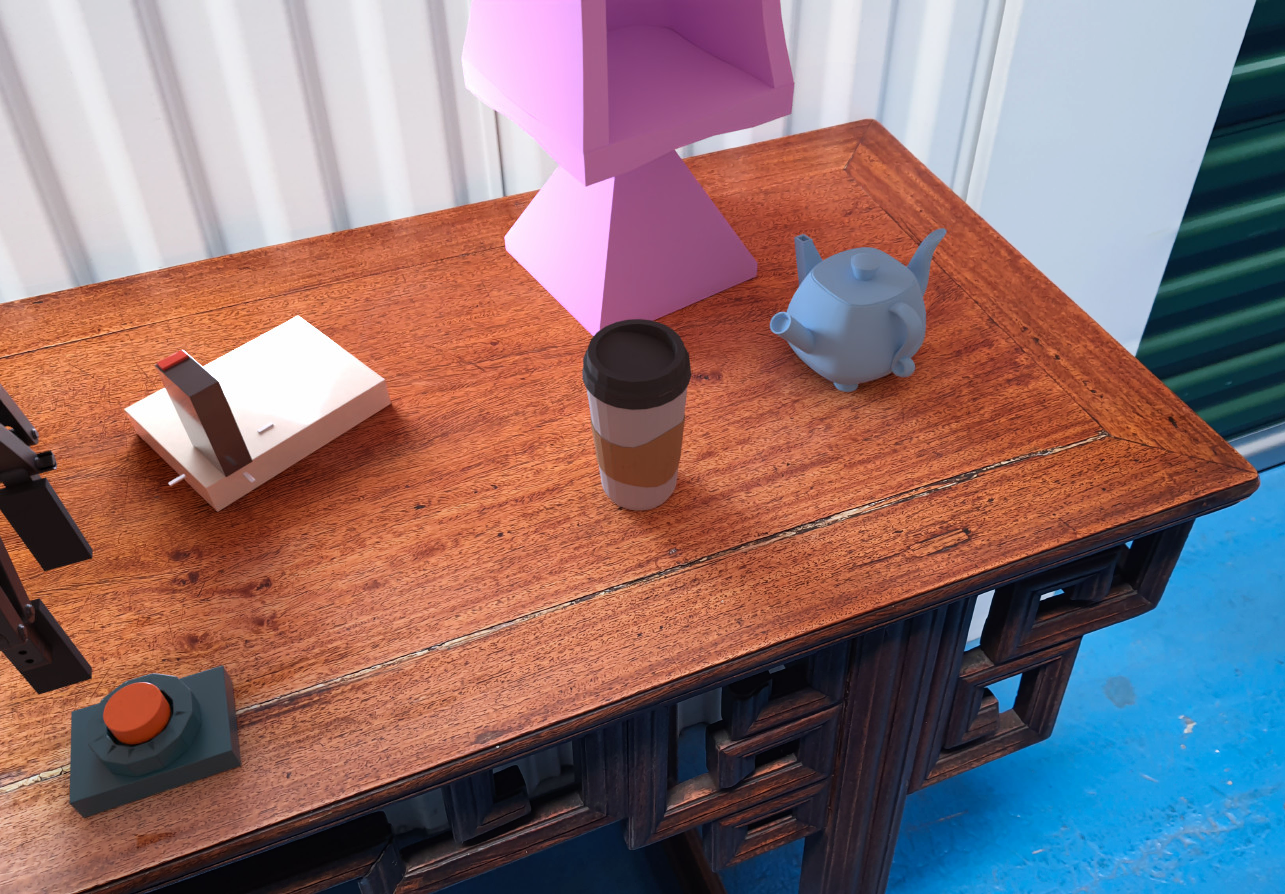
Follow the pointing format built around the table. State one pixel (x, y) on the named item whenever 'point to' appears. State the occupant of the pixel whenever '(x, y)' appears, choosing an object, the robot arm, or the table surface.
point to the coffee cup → (637, 409)
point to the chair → (628, 139)
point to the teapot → (857, 311)
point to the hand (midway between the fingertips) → (67, 617)
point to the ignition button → (137, 713)
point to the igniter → (155, 744)
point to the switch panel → (268, 408)
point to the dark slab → (204, 412)
